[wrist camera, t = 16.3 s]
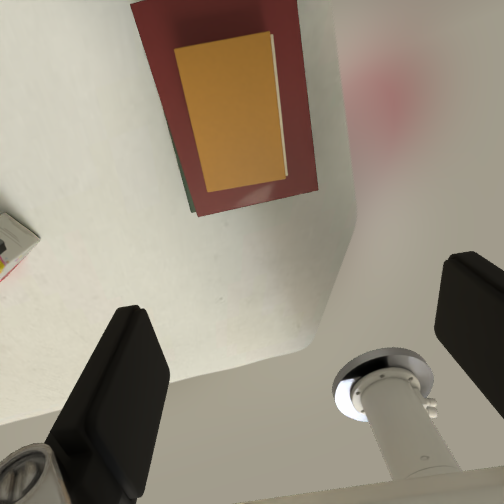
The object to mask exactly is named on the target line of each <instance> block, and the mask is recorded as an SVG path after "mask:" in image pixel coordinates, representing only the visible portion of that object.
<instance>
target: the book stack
mask: <svg viewBox="0 0 504 504" xmlns="http://www.w3.org/2000/svg"><path fill="white" fill-rule="evenodd" d="M130 6H131V9H132V12H133V15H134V18H135V22H136V25H137V28H138V31H139V34H140V37H141V40H142V43H143V47H144V50H145V53H146V56H147V59H148V62H149V65H150V69H151V72H152V75H153V78H154V81H155V84H156V87H157V90H158V94H159V97H160V100H161V103H162V106H163V110H164V114H165V117H166V121H167V125H168V128H169V132H170V136H171V139H172V143H173V147H174V151H175V154H176V158H177V162H178V165H179V169H180V173H181V177H182V180H183V184H184V188H185V191H186V195H187V199H188V203H189V206H190V210H191V213H193V212H196V213H197V216H198V217H201V216H205V215H210V214H214V213H219V212H223V211H228V210H232V209H236V208H241V207H245V206H250V205H254V204H259V203H263V202H268V201H272V200H277V199H281V198H286V197H290V196H294V195H299V194H304V193H309V192H312V191H317V190H318V182H317V173H316V164H315V156H314V147H313V138H312V130H311V121H310V112H309V104H308V95H307V86H306V78H305V69H304V60H303V51H302V43H301V34H300V25H299V17H298V7H297V0H144V1H140V2H136V3H132V4H130ZM266 31H270V35H271V34H273V38H274V47H275V57H276V66H277V76H278V86H279V95H280V105H281V114H282V124H283V133H284V143H285V152H286V162H287V171H288V176H286V179H283V180H277V181H271V182H265V183H259V184H254V185H248V186H242V187H236V188H231V189H225V190H219V191H213V192H207V189H206V184H205V180H204V176H203V172H202V167H201V163H200V159H199V155H198V150H197V146H196V142H195V138H194V133H193V129H192V125H191V121H190V116H189V112H188V108H187V104H186V99H185V95H184V91H183V86H182V82H181V78H180V74H179V69H178V65H177V61H176V57H175V52H174V49H175V48H180V47H185V46H190V45H196V44H201V43H207V42H212V41H217V40H223V39H228V38H234V37H239V36H244V35H250V34H255V33H261V32H266Z"/></svg>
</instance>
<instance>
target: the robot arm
mask: <svg viewBox="0 0 504 504" xmlns="http://www.w3.org/2000/svg"><path fill="white" fill-rule="evenodd" d="M434 330H435V334H436V336H437V338H438V340H439V341H440V342H441V343H442V344H443V345H444V347H445V348H446V349H447V351H448V352H449V353H450V354H451V355H452V357H453V358H454V359H455V360H456V362H457V363H458V364H459V365H460V366H461V368H462V369H463V370H464V371H465V372H466V374H467V375H468V376H469V377H470V378H471V380H472V381H473V382H474V383H475V385H476V386H477V387H478V388H479V389H480V391H481V392H482V393H483V394H484V396H485V397H486V398H487V399H488V400H489V402H490V403H491V404H492V405H493V406H494V408H495V409H496V410H497V411H498V413H499V414H500V415H501V416H502V417H503V419H504V271H503V270H502V269H500V268H498V267H497V266H496V265H494V264H493V263H491V262H490V261H488V260H487V259H485V258H483V257H482V256H480V255H479V254H477V253H475V252H474V251H469V252H463V253H457V254H452V255H450V257H449V258H448V260H446V261H445V262H444V265H443V271H442V277H441V284H440V291H439V298H438V306H437V312H436V318H435V325H434ZM169 380H170V371H169V367H168V365H167V362H166V360H165V357H164V355H163V352H162V349H161V347H160V344H159V342H158V339H157V337H156V334H155V332H154V329H153V327H152V324H151V322H150V319H149V317H148V314H147V312H146V310H145V309H140V307H139V306H138V305H132V306H126V307H120V308H118V309H117V310H116V311H115V313H114V315H113V317H112V319H111V321H110V322H109V324H108V326H107V328H106V330H105V332H104V333H103V335H102V337H101V339H100V341H99V343H98V344H97V346H96V348H95V350H94V352H93V354H92V355H91V357H90V359H89V361H88V363H87V365H86V366H85V368H84V370H83V372H82V374H81V376H80V377H79V379H78V381H77V383H76V385H75V387H74V389H73V390H72V392H71V394H70V396H69V398H68V400H67V401H66V403H65V405H64V407H63V409H62V411H61V413H60V414H59V416H58V418H57V420H56V422H55V423H54V425H53V427H52V429H51V431H50V433H49V435H48V437H47V439H46V441H45V442H44V443H33V444H30V445H27V446H24V447H22V448H20V449H18V450H16V451H15V452H13V453H11V454H10V455H9V456H7V457H6V458H5V459H3V461H1V462H0V504H136V501H137V498H139V497H141V496H142V495H143V493H144V490H145V486H146V481H147V477H148V473H149V468H150V464H151V460H152V455H153V451H154V446H155V442H156V437H157V433H158V429H159V424H160V420H161V416H162V411H163V407H164V402H165V398H166V394H167V389H168V385H169ZM351 401H352V404H353V406H354V408H355V409H356V410H357V411H358V412H359V413H361V414H363V415H366V416H367V419H368V421H369V424H370V426H371V428H372V431H373V433H374V436H375V438H376V441H377V443H378V446H379V448H380V451H381V453H382V455H383V458H384V460H385V463H386V465H387V468H388V470H389V473H390V475H391V478H392V480H393V481H389V482H382V483H374V484H368V485H360V486H353V487H346V488H339V489H332V490H325V491H318V492H311V493H303V494H296V495H290V496H283V497H276V498H269V499H262V500H255V501H248V502H242V503H235V504H504V466H498V467H491V468H484V469H476V470H469V471H462V470H461V468H460V466H459V465H458V463H457V461H456V460H455V458H454V456H453V455H452V453H451V451H450V450H449V448H448V446H447V445H446V443H445V441H444V440H443V438H442V436H441V435H440V433H439V431H438V430H437V428H436V426H435V425H434V423H433V421H432V420H431V418H436V417H437V415H438V413H437V409H436V408H435V407H436V406H437V401H436V400H435V399H433V398H424V397H423V396H422V395H421V393H420V383H419V381H418V379H417V377H416V376H415V375H414V374H413V373H412V372H411V371H409V370H407V369H403V368H398V367H387V368H382V369H378V370H375V371H373V372H370V373H368V374H367V375H365V376H363V377H362V378H361V379H360V380H359V381H358V382H357V383H356V384H355V385H354V387H353V389H352V391H351Z"/></svg>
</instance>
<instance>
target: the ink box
mask: <svg viewBox="0 0 504 504" xmlns="http://www.w3.org/2000/svg"><path fill="white" fill-rule="evenodd" d="M39 241H40V239H39V238H38V237H37V236H36V235H35V234H34V233H32V232H31V231H30V230H28V229H27V228H26V227H24V226H23V225H21V224H20V223H19V222H17V221H16V220H15V219H13V218H12V217H11V216H9V215H8V214H7V213H3V214H0V282H1V281H2V280H3V279H5V277H6V276H7V275H8V274H9V273H10V272H11V271H12V270H13V269H14V268H15V267H16V266H17V265H18V264H19V262H20V261H21V260H22V259H23V258H24V257H25V256H26V255H27V254H28V253H29V252H30V251H31V250H32V249H33V248H34V247H35V246H36V244H37V243H38V242H39Z"/></svg>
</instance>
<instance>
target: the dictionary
mask: <svg viewBox="0 0 504 504" xmlns="http://www.w3.org/2000/svg"><path fill="white" fill-rule="evenodd" d="M174 52H175V57H176V61H177V65H178V69H179V74H180V78H181V82H182V86H183V91H184V95H185V99H186V104H187V108H188V112H189V116H190V121H191V125H192V129H193V133H194V138H195V142H196V146H197V150H198V155H199V159H200V163H201V167H202V172H203V176H204V180H205V184H206V189H207V192H213V191H219V190H225V189H231V188H236V187H242V186H248V185H254V184H259V183H265V182H271V181H277V180H283V179H286V176H288V171H287V162H286V152H285V143H284V133H283V124H282V114H281V105H280V95H279V86H278V76H277V66H276V57H275V47H274V38H273V34H271V35H270V31H266V32H261V33H255V34H250V35H244V36H239V37H234V38H228V39H223V40H217V41H212V42H207V43H201V44H196V45H190V46H185V47H180V48H175V49H174Z"/></svg>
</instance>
